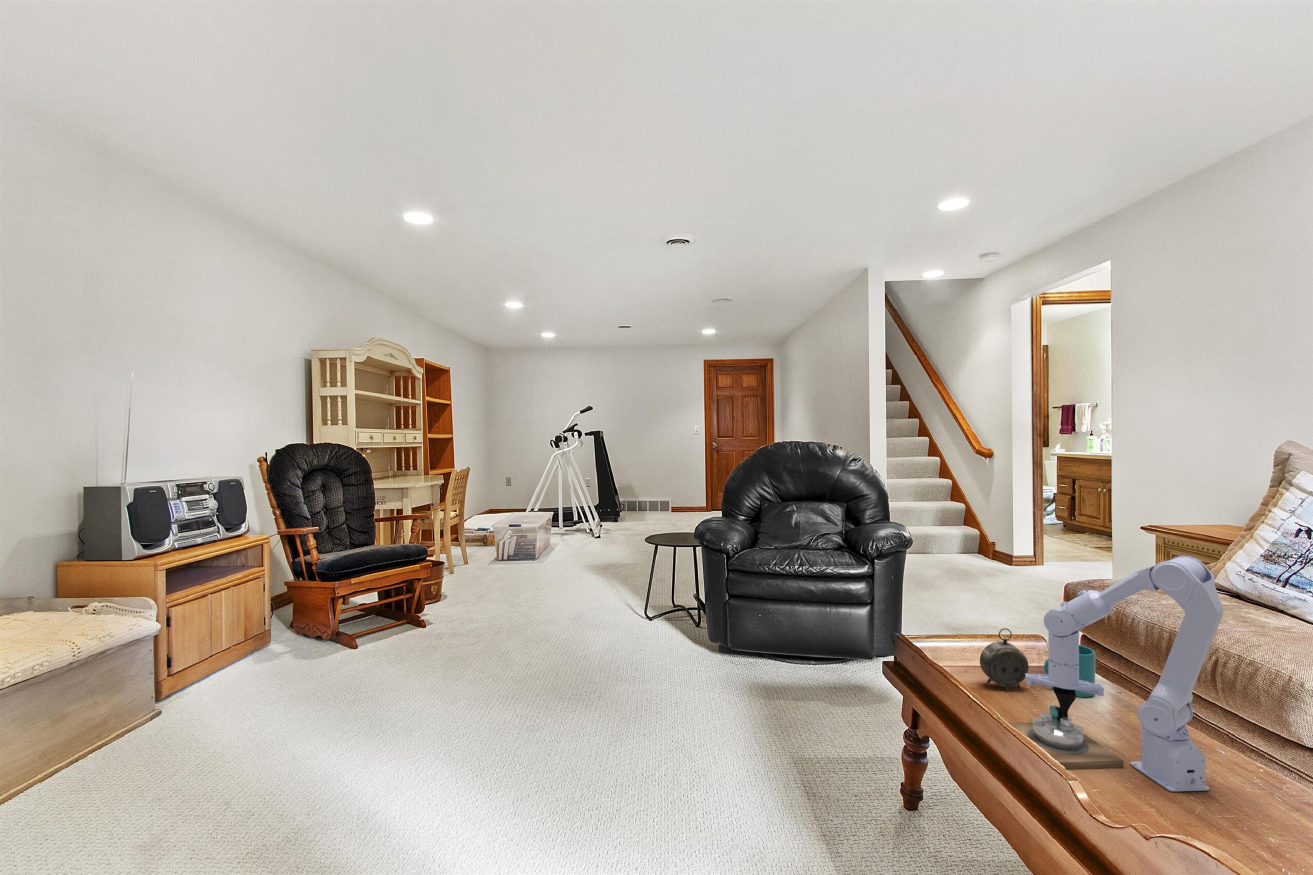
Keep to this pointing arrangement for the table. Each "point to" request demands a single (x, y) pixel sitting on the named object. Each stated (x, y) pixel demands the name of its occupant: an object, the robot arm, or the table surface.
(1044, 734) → the rotary knob
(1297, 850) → the table surface
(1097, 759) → the dial board
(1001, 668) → the alarm clock
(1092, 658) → the cup
